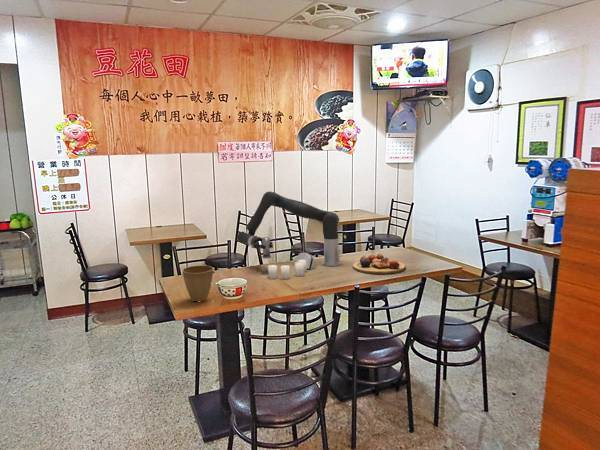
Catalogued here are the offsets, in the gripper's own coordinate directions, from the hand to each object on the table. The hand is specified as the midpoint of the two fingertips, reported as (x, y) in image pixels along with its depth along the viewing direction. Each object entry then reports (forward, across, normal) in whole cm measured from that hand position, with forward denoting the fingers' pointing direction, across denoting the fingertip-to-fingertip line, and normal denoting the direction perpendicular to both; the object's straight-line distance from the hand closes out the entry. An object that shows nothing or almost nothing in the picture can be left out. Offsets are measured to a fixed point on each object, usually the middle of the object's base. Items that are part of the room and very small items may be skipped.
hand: (268, 246), depth 260 cm
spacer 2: (+15, +3, +16) cm, 22 cm away
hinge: (0, +25, +17) cm, 30 cm away
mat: (-2, 0, +16) cm, 17 cm away
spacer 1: (+9, -3, +16) cm, 19 cm away
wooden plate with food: (+30, +60, +17) cm, 70 cm away
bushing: (-3, 0, +7) cm, 8 cm away
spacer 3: (+14, +13, +16) cm, 25 cm away
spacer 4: (+9, +18, +16) cm, 26 cm away
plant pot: (+23, -51, +16) cm, 59 cm away
